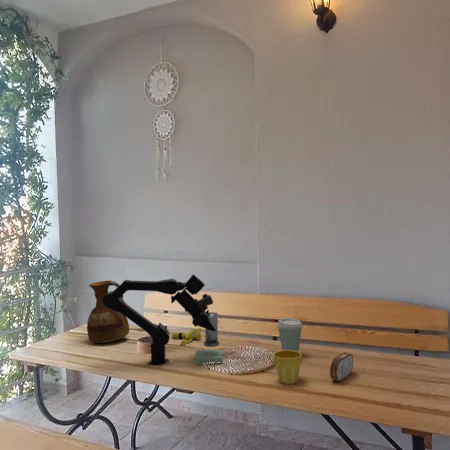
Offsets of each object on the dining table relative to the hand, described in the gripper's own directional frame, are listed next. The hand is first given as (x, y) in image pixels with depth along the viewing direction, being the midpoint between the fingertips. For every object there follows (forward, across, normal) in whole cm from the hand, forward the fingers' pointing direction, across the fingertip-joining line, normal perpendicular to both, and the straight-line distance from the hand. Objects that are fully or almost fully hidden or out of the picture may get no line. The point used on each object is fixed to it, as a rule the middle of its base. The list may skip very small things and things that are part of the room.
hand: (214, 328), depth 186 cm
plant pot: (+28, -26, -10) cm, 39 cm away
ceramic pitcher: (-28, +34, +48) cm, 65 cm away
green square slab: (+8, 0, +11) cm, 13 cm away
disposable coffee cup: (+32, +4, -14) cm, 35 cm away
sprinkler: (-1, +32, +20) cm, 38 cm away
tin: (+42, -24, -25) cm, 54 cm away
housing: (+4, 0, +6) cm, 7 cm away
